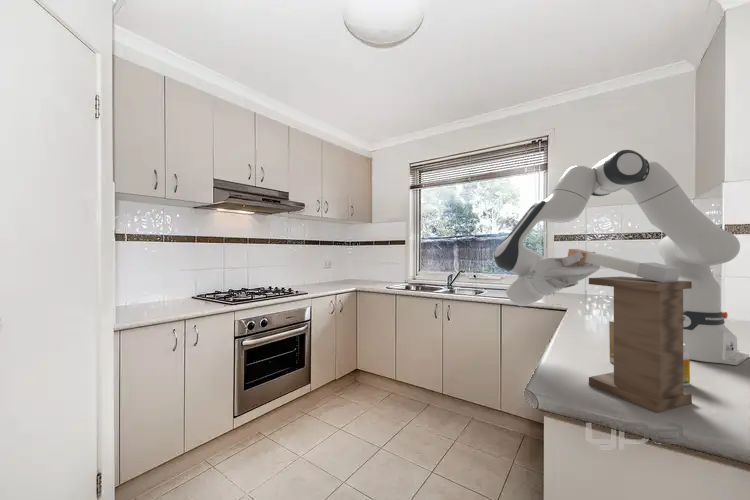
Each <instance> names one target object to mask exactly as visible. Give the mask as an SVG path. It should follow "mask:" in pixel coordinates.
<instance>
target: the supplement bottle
mask: <svg viewBox="0 0 750 500" xmlns="http://www.w3.org/2000/svg"><path fill="white" fill-rule="evenodd" d="M685 350H686V345H685V344H684V343H683V387H685V386H690V384H691V378H690V377H691V373H690V367H691V365H690V363H691V362H690V361H691V359H690V356H689V355H688V354H687V353H686V352H684V351H685Z"/></svg>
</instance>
